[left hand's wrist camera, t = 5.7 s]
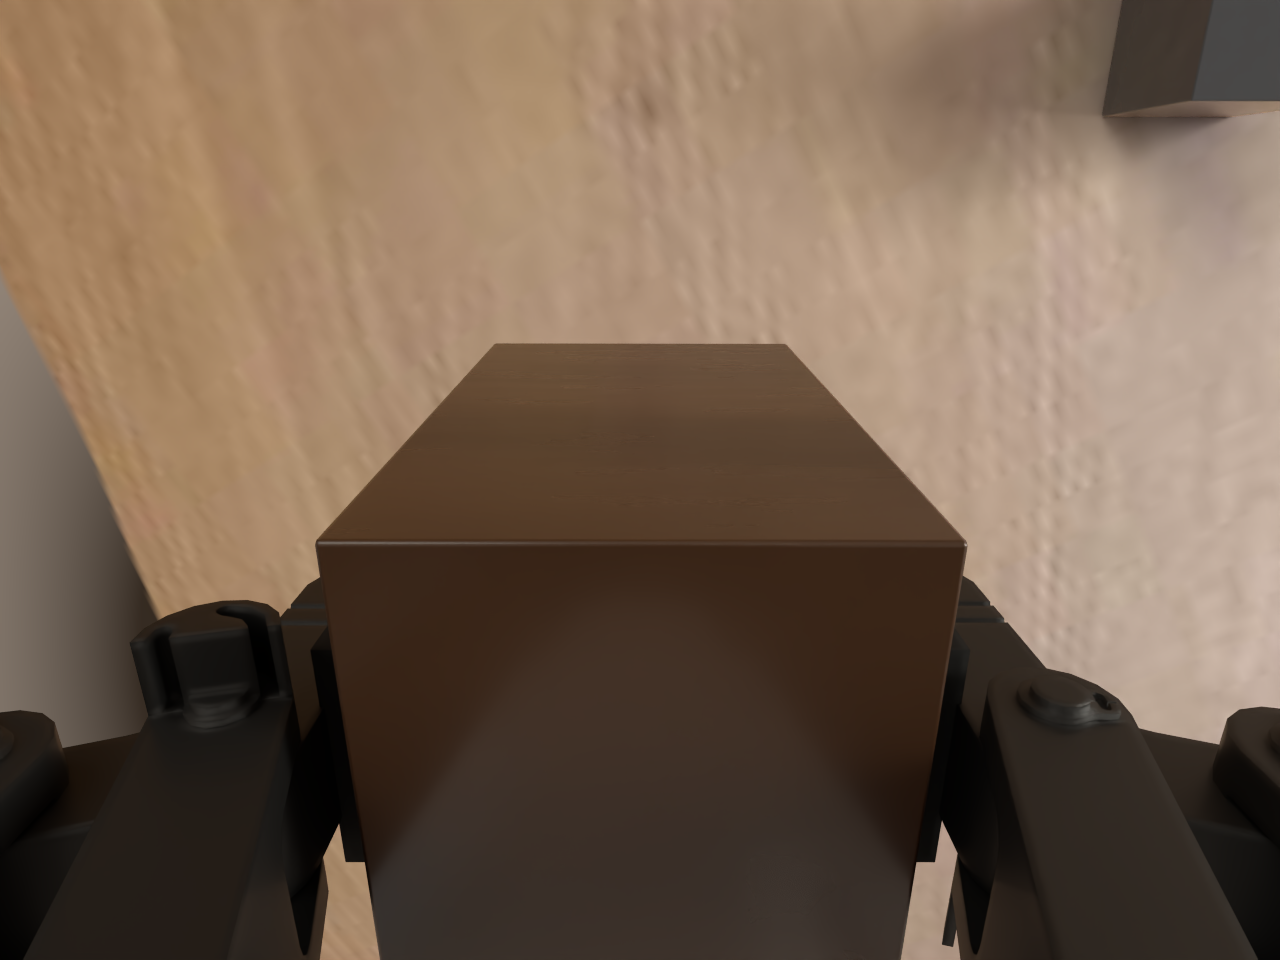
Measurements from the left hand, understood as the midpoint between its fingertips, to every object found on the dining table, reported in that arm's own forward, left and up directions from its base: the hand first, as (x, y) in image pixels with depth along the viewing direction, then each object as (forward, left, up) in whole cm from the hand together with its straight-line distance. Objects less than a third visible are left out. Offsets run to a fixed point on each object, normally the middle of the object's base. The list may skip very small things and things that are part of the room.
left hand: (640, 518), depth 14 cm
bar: (+10, 0, 0) cm, 10 cm away
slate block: (-10, +16, -12) cm, 22 cm away
